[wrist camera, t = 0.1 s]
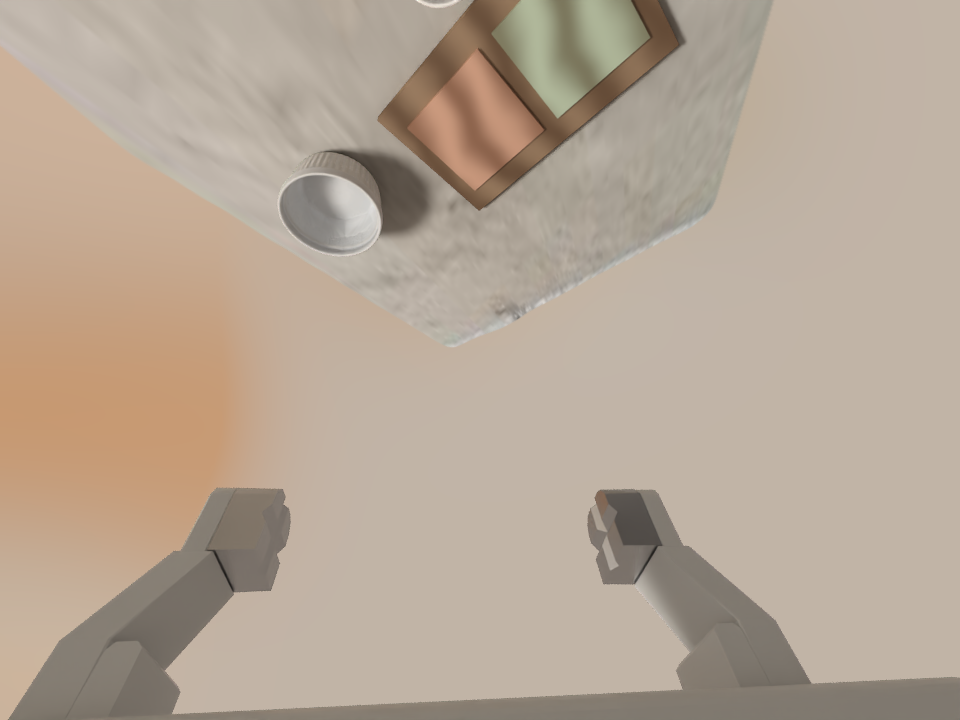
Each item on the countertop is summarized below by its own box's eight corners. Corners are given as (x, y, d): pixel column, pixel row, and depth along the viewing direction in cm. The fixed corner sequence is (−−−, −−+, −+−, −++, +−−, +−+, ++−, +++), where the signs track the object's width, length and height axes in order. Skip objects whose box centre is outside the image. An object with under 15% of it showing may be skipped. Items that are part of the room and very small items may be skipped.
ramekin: (360, 129, 55) (352, 160, 50) (401, 215, 65) (398, 246, 61) (268, 157, 57) (254, 188, 53) (322, 234, 68) (314, 265, 64)
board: (589, -139, 37) (592, -137, 36) (676, 41, 48) (680, 46, 47) (378, 116, 53) (377, 122, 52) (478, 206, 64) (479, 212, 63)
